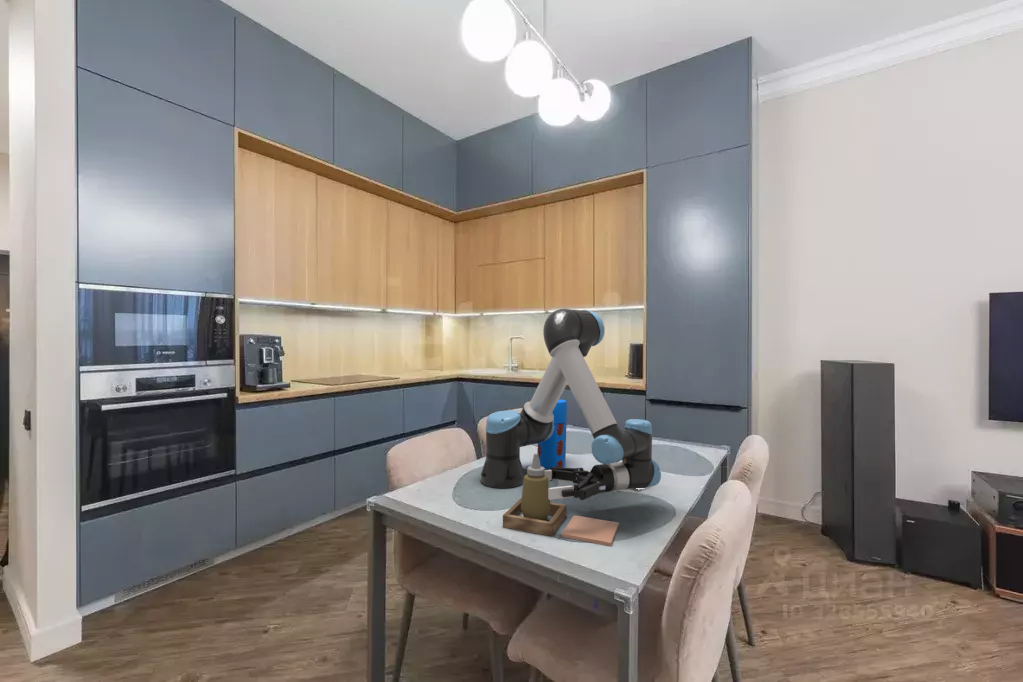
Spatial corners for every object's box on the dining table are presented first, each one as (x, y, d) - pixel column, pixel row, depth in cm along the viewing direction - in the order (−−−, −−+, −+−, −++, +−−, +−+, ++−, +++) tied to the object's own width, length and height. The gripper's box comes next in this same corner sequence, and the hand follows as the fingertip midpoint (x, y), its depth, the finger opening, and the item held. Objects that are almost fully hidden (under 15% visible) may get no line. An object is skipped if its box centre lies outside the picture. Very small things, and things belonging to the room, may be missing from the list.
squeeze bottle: (534, 512, 120) (535, 448, 120) (556, 521, 115) (557, 454, 114) (514, 520, 115) (514, 454, 115) (536, 530, 109) (537, 460, 109)
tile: (561, 536, 106) (561, 533, 106) (573, 518, 117) (573, 515, 117) (611, 546, 101) (611, 542, 101) (618, 525, 112) (618, 522, 112)
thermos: (532, 462, 168) (534, 399, 168) (556, 460, 172) (557, 398, 172) (545, 470, 158) (547, 403, 158) (570, 467, 162) (572, 402, 162)
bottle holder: (502, 526, 111) (502, 515, 111) (521, 508, 123) (521, 497, 123) (552, 536, 106) (552, 524, 106) (566, 515, 118) (566, 504, 118)
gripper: (634, 507, 109) (558, 517, 102) (587, 477, 133) (523, 483, 126) (634, 478, 109) (558, 486, 102) (587, 452, 133) (523, 458, 126)
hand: (538, 485), depth 114 cm, fingers open, 13 cm apart
